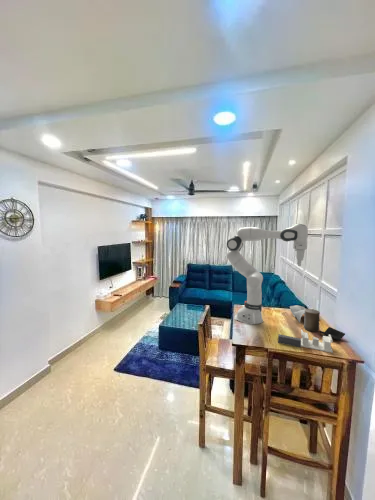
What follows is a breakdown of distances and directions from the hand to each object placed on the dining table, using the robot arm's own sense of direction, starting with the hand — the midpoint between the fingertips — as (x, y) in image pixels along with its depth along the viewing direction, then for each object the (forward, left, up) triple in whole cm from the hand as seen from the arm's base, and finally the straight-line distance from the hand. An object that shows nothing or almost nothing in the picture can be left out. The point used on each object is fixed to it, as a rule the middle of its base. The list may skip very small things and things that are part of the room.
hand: (299, 265), depth 159 cm
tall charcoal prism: (-5, -30, -48) cm, 56 cm away
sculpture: (+6, +24, -48) cm, 54 cm away
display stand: (+10, -25, -47) cm, 54 cm away
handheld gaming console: (+19, -10, -47) cm, 52 cm away
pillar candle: (+10, +2, -48) cm, 49 cm away
